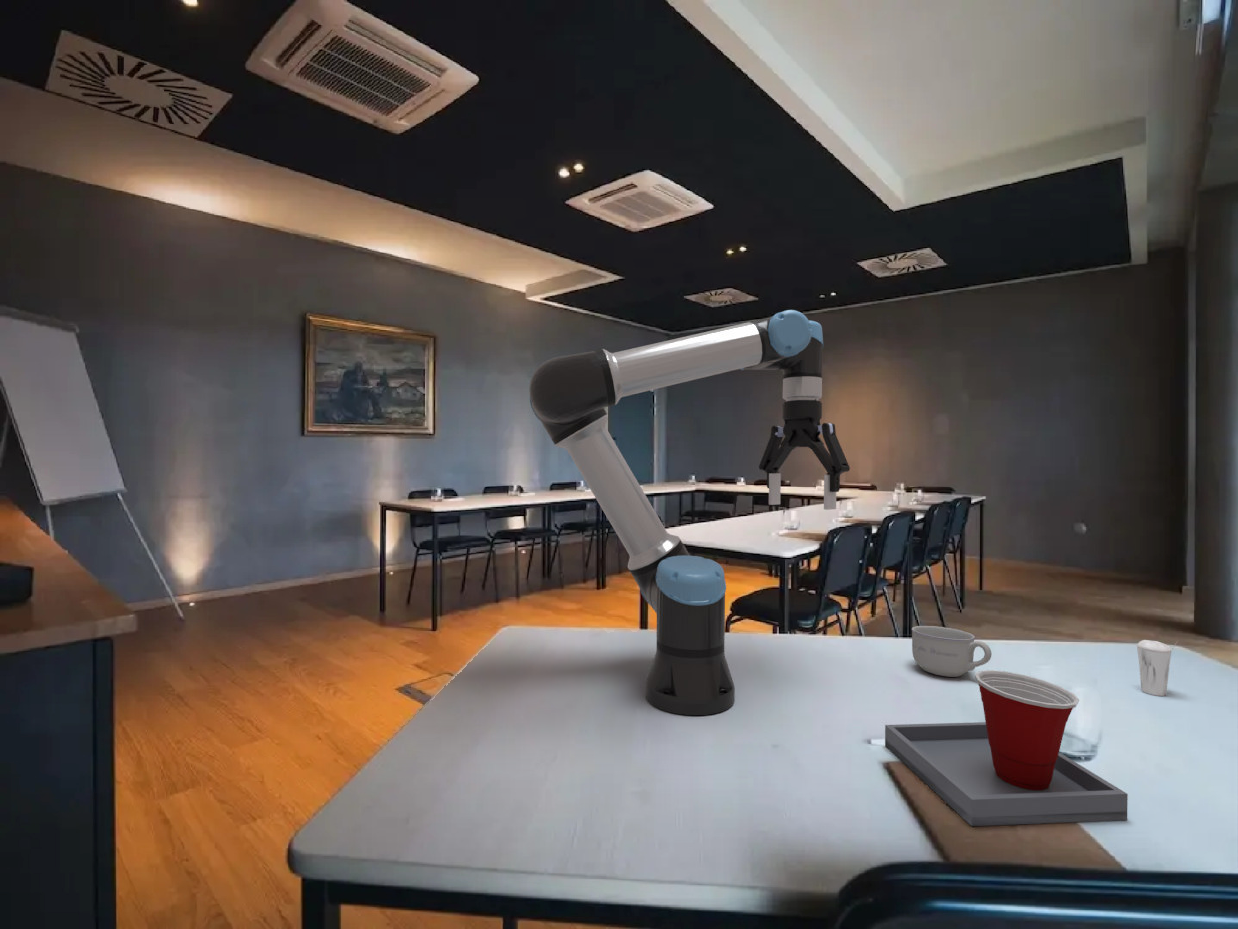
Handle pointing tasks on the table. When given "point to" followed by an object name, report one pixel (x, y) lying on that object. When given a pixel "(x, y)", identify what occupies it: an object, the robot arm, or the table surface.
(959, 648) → the teacup
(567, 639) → the table surface
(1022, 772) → the plastic cup
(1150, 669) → the milkshake
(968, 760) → the grey shallow square tray
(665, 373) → the robot arm
